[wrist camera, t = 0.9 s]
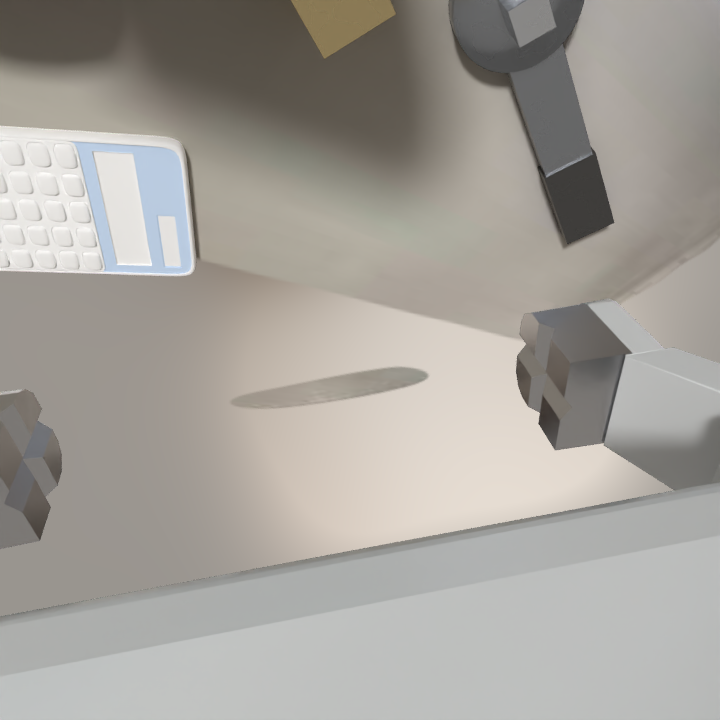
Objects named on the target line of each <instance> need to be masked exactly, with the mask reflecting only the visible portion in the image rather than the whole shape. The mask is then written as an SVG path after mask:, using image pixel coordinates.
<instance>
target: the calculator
mask: <svg viewBox="0 0 720 720" xmlns="http://www.w3.org/2000/svg"><path fill="white" fill-rule="evenodd" d="M54 145H55V146H54ZM195 268H196V248H195V238H194V228H193V218H192V208H191V198H190V188H189V178H188V167H187V158H186V153H185V149H184V147H183V145H182V144H181V142H180V141H178V140H176V139H173V138H169V137H162V136H150V135H135V134H120V133H104V132H89V131H73V130H58V129H42V128H26V127H11V126H0V271H20V272H52V273H84V274H116V275H150V276H188V275H190V274H192V273H193V272H194V270H195Z"/></svg>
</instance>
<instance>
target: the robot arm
mask: <svg viewBox="0 0 720 720" xmlns="http://www.w3.org/2000/svg"><path fill="white" fill-rule="evenodd" d="M520 336H521V337H522V339H523V340H524V342H525V343H526V345H525V347H524V348H523V349H522V350H521V352H520V353H519V354H518V356H517V367H516V374H517V380H518V386H519V389H520V392H521V395H522V397H523V399H524V400H525V402H526V404H527V405H528V407H530V408H532V409H534V410H536V411H538V412H540V416H539V425H540V427H541V428H542V430H543V432H544V433H545V435H546V436H547V438H548V440H549V441H550V443H551V444H552V446H553V447H554V449H555V450H560V449H567V448H573V447H580V446H587V445H594V444H600V443H604V446H606V447H607V448H609V449H610V450H612V451H613V452H615V453H617V454H618V455H620V456H621V457H623V458H624V459H626V460H628V461H629V462H631V463H632V464H634V465H636V466H637V467H639V468H640V469H642V470H643V471H645V472H646V473H648V474H650V475H651V476H653V477H654V478H656V479H657V480H659V481H661V482H662V483H664V484H665V485H667V486H668V487H670V488H672V489H673V490H674V491H669V492H664V493H658V494H653V495H648V496H643V497H638V498H632V499H627V500H622V501H617V502H611V503H606V504H601V505H596V506H591V507H585V508H580V509H575V510H569V511H564V512H558V513H552V514H547V515H542V516H536V517H531V518H526V519H520V520H515V521H509V522H505V523H498V524H493V525H487V526H482V527H477V528H471V529H466V530H460V531H455V532H450V533H444V534H439V535H433V536H428V537H423V538H417V539H412V540H406V541H401V542H395V543H390V544H385V545H379V546H374V547H369V548H363V549H359V550H353V551H347V552H342V553H337V554H332V555H326V556H321V557H316V558H310V559H305V560H300V561H294V562H289V563H283V564H278V565H273V566H267V567H262V568H257V569H252V570H246V571H241V572H235V573H230V574H225V575H220V576H214V577H209V578H203V579H199V580H193V581H187V582H182V583H177V584H171V585H166V586H161V587H156V588H151V589H145V590H140V591H134V592H129V593H124V594H118V595H112V596H107V597H102V598H96V599H91V600H86V601H81V602H75V603H70V604H64V605H59V606H54V607H48V608H43V609H37V610H32V611H27V612H21V613H17V614H11V615H5V616H1V617H0V720H720V363H717V362H714V361H712V360H709V359H706V358H703V357H700V356H697V355H694V354H691V353H689V352H686V351H683V350H680V349H677V348H674V347H672V348H666V349H665V348H664V347H662V345H661V344H660V343H659V342H658V341H657V340H656V339H654V338H653V337H652V336H651V335H650V334H649V333H648V332H647V331H646V330H645V329H644V328H643V327H642V326H641V325H640V324H639V323H638V322H637V321H636V320H635V319H634V318H633V317H632V316H631V315H630V314H629V313H628V312H627V311H626V310H625V309H623V308H622V307H621V306H620V305H619V304H618V303H617V302H616V301H614V300H611V299H603V300H598V301H593V302H587V303H582V304H580V305H574V306H568V307H562V308H556V309H550V310H544V311H538V312H532V313H526V314H524V316H523V319H522V321H521V327H520ZM41 410H42V408H41V406H40V404H39V403H38V401H37V399H36V397H35V395H34V394H33V393H32V392H30V391H28V390H26V389H22V390H13V391H6V392H0V549H1V548H7V547H12V546H17V545H22V544H27V543H32V542H36V541H40V539H41V536H42V533H43V529H44V526H45V523H46V520H47V517H48V514H49V511H50V508H51V507H50V505H49V503H48V501H47V499H46V498H45V497H46V496H47V495H48V494H49V493H50V492H51V491H52V490H53V489H54V488H55V487H56V486H58V482H59V479H60V475H61V472H62V460H61V459H62V458H61V457H62V454H61V450H60V447H59V443H58V440H57V438H56V436H55V434H54V432H53V430H52V429H51V428H49V427H47V426H46V425H44V424H42V423H40V422H39V421H37V420H38V418H39V415H40V412H41Z"/></svg>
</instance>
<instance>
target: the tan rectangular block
mask: <svg viewBox="0 0 720 720" xmlns="http://www.w3.org/2000/svg"><path fill="white" fill-rule="evenodd" d="M291 2H292V3H293V5H294V7H295V9H296V10H297V12H298V14H299V16H300V17H301V19H302V21H303V23H304V24H305V26H306V28H307V29H308V31H309V33H310V35H311V36H312V38H313V40H314V42H315V43H316V45H317V47H318V49H319V50H320V52H321V54H322V56H323V57H324V59H325V58H327V57H328V56H330V55H332V54H333V53H335V52H336V51H338V50H340V49H341V48H343V47H344V46H346V45H348V44H349V43H351V42H352V41H354V40H356V39H357V38H359V37H360V36H362V35H364V34H365V33H367V32H368V31H370V30H372V29H373V28H375V27H376V26H378V25H380V24H381V23H383V22H384V21H386V20H388V19H389V18H391V17H392V16H394V15H396V13H395V10H394V8H393V5H392V3H391V0H291Z"/></svg>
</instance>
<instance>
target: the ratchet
mask: <svg viewBox="0 0 720 720" xmlns="http://www.w3.org/2000/svg"><path fill="white" fill-rule="evenodd" d="M583 4H584V0H449V4H448V7H449V17H450V23H451V26H452V29H453V32H454V34H455V36H456V38H457V40H458V41H459V43H460V45H461V47H462V48H463V50H464V51H465V53H466V54H467V55H468V56H469V58H470V59H471V60H472V61H474V62H475V63H476V64H477V65H479V66H481V67H483V68H485V69H487V70H490V71H494V72H500V73H507V74H508V77H509V80H510V83H511V86H512V88H513V91H514V94H515V97H516V100H517V103H518V106H519V108H520V111H521V114H522V117H523V120H524V123H525V125H526V128H527V131H528V134H529V137H530V140H531V142H532V145H533V148H534V151H535V154H536V157H537V159H538V162H539V165H540V166H538V170H539V173H540V175H541V178H542V181H543V184H544V187H545V189H546V192H547V195H548V198H549V201H550V203H551V206H552V209H553V212H554V215H555V217H556V220H557V223H558V226H559V229H560V232H561V234H562V235H563V237H564V239H565V241H566V243H567V244H569V243H571V242H573V241H575V240H578V239H580V238H582V237H584V236H586V235H589V234H591V233H593V232H595V231H597V230H599V229H602V228H604V227H606V226H608V225H610V224H613V223H614V220H613V216H612V212H611V209H610V205H609V201H608V197H607V194H606V190H605V186H604V183H603V179H602V175H601V171H600V168H599V164H598V160H597V156H596V153H595V151H594V150H593V149H592V147H591V146H590V143H589V139H588V135H587V131H586V128H585V124H584V120H583V117H582V113H581V109H580V106H579V102H578V98H577V95H576V91H575V87H574V84H573V80H572V76H571V73H570V69H569V65H568V62H567V58H566V54H565V51H564V47H563V42H564V41H565V40H566V39H567V37H568V36H569V34H570V33H571V32H572V30H573V28H574V26H575V25H576V23H577V20H578V18H579V16H580V14H581V10H582V7H583Z"/></svg>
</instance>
